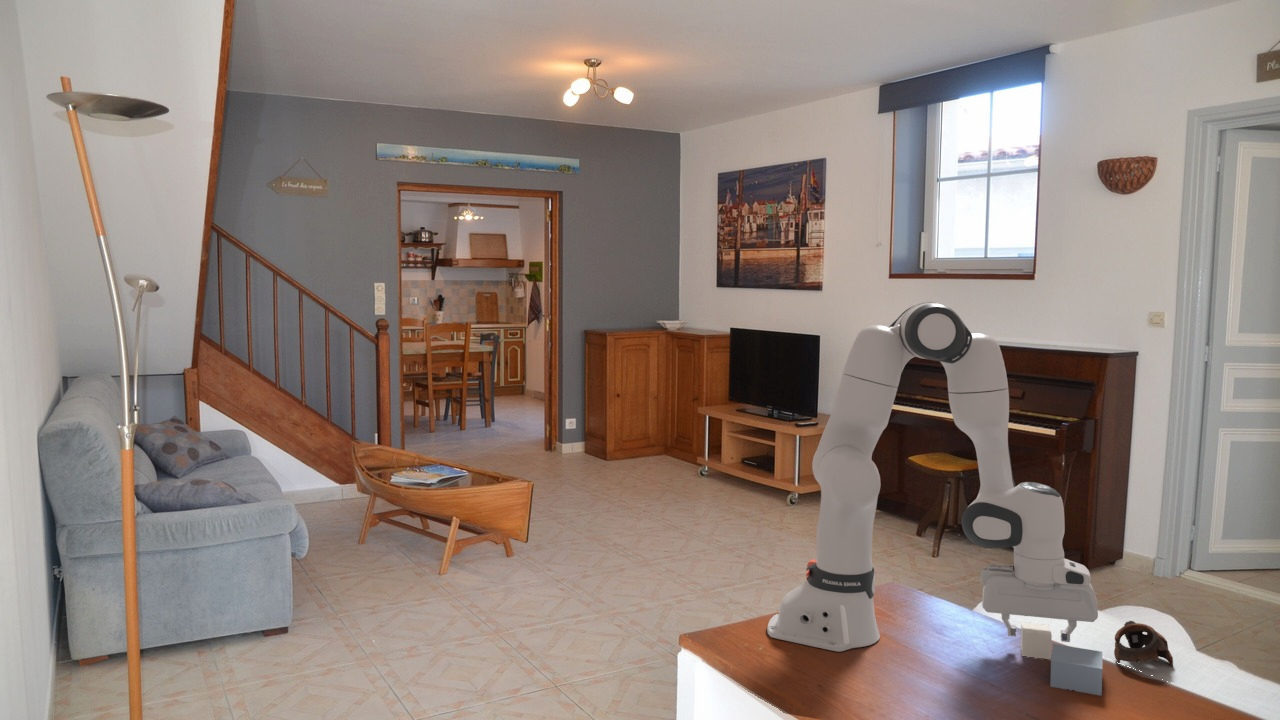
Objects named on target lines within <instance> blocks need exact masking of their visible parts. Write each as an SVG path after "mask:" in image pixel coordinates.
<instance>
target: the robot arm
mask: <svg viewBox="0 0 1280 720" xmlns="http://www.w3.org/2000/svg"><path fill="white" fill-rule="evenodd" d="M913 358H919V359H925V360H930V361H934V362H935V361H936V362H940V364H941V365H942V366H943V368H944V371H945V374H946V378H947V392H948V402H949V408H950V412H951V416H952V419H953V422H954V425H955V426H956V427H957V428H958V429H959V430H960V431H961V432H963V433H964V434H966V436H968V437H969V439H970V440H971V441H972V444H973V445H974V448H975V453H976V459H977V466H978V473H979V474H978V475H979V482H980V484H979V485H980V486H979V490H978V494H977V496H976V498H975V499H974V500H973V501H972V502H971V503H970V504H969V505H968V506H967V507H966V508H965V510H964V512H963V514H962V516H961V527H962V531H963V533H964V535H965V537H966V538H967V539H968V540H969V541H970V542H971V543H973V544H974V545H976V546H978V547H981V548H985V549H1003V548H1004V549H1006V548H1013V565H1005V564H1004V565H1003V564H1002V565H1000V564H999V565H997V564H993V563H992V564H988V565H987V566H984V567H983V568H982V569H981V571H980V583H981V585H983V589H982V599H981V602H982V603H981V604H982V605H981V606H982V609H983V610H984V611H985V612H986V613H991V614H999V615H1000V614H1001V621H1002V622H1003V623H1004V625H1005V626H1006V628H1007V629H1006V630H1007V633H1006V634H1007V637H1017V633H1016V632H1017V627H1016V625H1015V624H1011V622H1010V617H1011V616H1010V615H1012V616H1023V617H1030V618H1031V617H1033V618H1034V617H1035V618H1043V619H1054V620H1064V621H1065V620H1066V621H1067V623H1068V624H1067V627H1066V628H1065V629H1060V641H1061V642H1064V643H1070V642H1071V634H1072V633H1073V632H1074V630H1075V629H1076V628H1077V624H1078V622H1087V623H1095V621H1096V620H1097V619H1098V618H1099V613H1098V611H1099V610H1098V609H1099V608H1098V601H1097V600H1098V599H1097V595H1096V592H1095V589H1094V588H1093V586H1092V584H1091V580H1092V579H1091V578H1092V577H1091V573H1090V571H1089V569H1088V568H1087V567H1086V566H1085V565H1084V564H1081V563H1078V562H1076V561H1073V560H1070V559H1068V558H1065V551H1064V546H1063V539H1064V535H1065V531H1066V529H1065V528H1066V527H1065V508H1064V502H1063V499H1062V496H1061V494H1060V493H1059V492H1058V491H1057V490H1056V489H1054V488H1052V487H1051V486H1050V485H1046V484H1042V483H1041V482H1040V483H1039V482H1033V481H1032V482H1031V481H1025V482H1023V481H1022V482H1020V483H1019V484H1018V485H1016V483H1015V480H1014V475H1013V468H1012V461H1011V453H1010V447H1009V418H1010V394H1009V383H1008V377H1007V370H1006V366H1005V360H1004V358H1003V353H1002V350H1001V347H1000V343H999V342H998V341H997V340H996V339H995V337H992V336H991V335H988V334H986V333H980V332H973V333H972V332H971V331H970V330H969V328H968V327H967V326H966V324H965V323H964V321H963V320H962V319H961V317H960V316H959V315H958V313H957V312H956V311H955V310H954V309H952V308H950V307H949V306H947V305H945V304H941V303H936V302H932V301H930V302H929V301H927V302H920V303H918V304H915V305H912V306H910V307H909V308H907V309H906V310H904V311H903V312H902V313H901V314H900V315H899V316H898V317H897V318H896V319H895V320H894V321H893V322H892V323H891V324H890V325H889V326H887V325H881V324H872V325H869V326H866V327H864V328H862V329H861V330H860V331H859V332H858V333H857V335H856V337H855V340H854V342H853V344H852V346H851V348H850V351H849V353H848V356H847V359H846V362H845V364H844V368H843V371H842V374H841V378H840V382H839V385H838V388H837V392H836V397H835V400H834V403H833V407H832V410H831V413H830V416H829V418H828V421H827V423H826V424H825V428H824V429H823V432H822V435H821V438H820V439H819V442H818V446H817V448H816V451H815V453H814V455H813V457H812V458H813V459H812V464H811V466H812V467H811V468H812V474H813V477H814V479H815V481H816V482H817V484H819V487H820V495H821V496H820V506H819V507H820V508H819V514H818V522H817V523H816V559H814V558H813V559H810V560H809V561H808V562H807V567H806V569H805V570H806V574H805V576H806V581H804V582H803V583H802V584H800V585H797V587H795V588H794V589H792V590H791V591H789V592H788V593H786V595H785V596H784V598H783V599H782V600H781V603H780V606H779V611H778V613H779V614H777V613H775V614H776V615H775V614H774V615H773V616H772V617H770V619H769V621H768V624H767V628H766V629H767V631H766V632H767V634H768V636H769V637H770V638H774V639H777V640H782V641H787V642H789V643H795V644H799V645H805V646H810V647H814V648H818V649H819V648H820V649H823V650H828V651H833V652H844V651H847V650H850V649H856V648H862V647H867V646H871V645H873V644H875V643H877V642H878V641H879V639H880V638H881V635H880V632H879V627H878V625H877V624H878V623H877V621H876V615H875V614H876V613H875V605H874V595H875V589H876V575H875V568H874V567H873V535H874V534H873V531H874V522H875V517H876V511H877V504H878V499H879V498H878V497H879V494H880V492H881V491H880V490H881V486H882V485H881V475H880V473H879V469H878V467H877V465H876V463H875V462H874V461H873V460H872V456H873V452H874V450H875V448H876V445H877V444H878V441H879V440H880V437H881V436H882V434H883V431H884V430H885V429H886V428H887V427H888V424H889V420H890V417H891V413H892V410H893V405H894V404H895V403H894V402H895V399H896V395H897V392H898V387H899V385H900V381H901V375H902V373H903V371H904V368H905V366H906V365H907V364H908V362H909V361H911V359H913Z"/></svg>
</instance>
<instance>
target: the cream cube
mask: <svg viewBox="0 0 1280 720" xmlns="http://www.w3.org/2000/svg"><path fill="white" fill-rule="evenodd" d="M1020 628H1021V629H1020V630H1021V631H1020V632H1021V633H1020V649H1021V650H1022V651H1021V656H1027V657H1026V658H1029V657H1035V658H1034V659H1037V658H1045V659H1051V657H1052V638H1053V637H1052V636H1053V635H1052V631H1051V626H1050V625H1047V624H1039V623H1031V622H1022V621H1021V627H1020Z"/></svg>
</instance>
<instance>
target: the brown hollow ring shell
mask: <svg viewBox="0 0 1280 720" xmlns="http://www.w3.org/2000/svg"><path fill="white" fill-rule="evenodd" d="M1123 636H1124V637H1125V639H1126V640H1127V643H1128V646H1125V645H1124V644H1122V643H1121V639H1122V637H1123ZM1114 641H1115V642H1114V651H1113V652H1114V653H1113V655H1114V657H1115V658H1114V659H1115V660H1116V662H1117V663H1119V664H1120V662H1121V661H1123V662H1128V663H1129V662H1130V663H1134V664H1136V663H1140V662H1141V663H1144V662H1147V661H1150V660H1153V661H1155V662H1156V661H1157V662H1160V659H1159V658H1163V659H1164V660H1166V661H1167V662H1168V663H1169V666H1170V667H1174V658H1173V655H1172V653H1171V652H1170V650H1169V646H1168V641H1167V639H1166V638H1165V637H1164V636H1163V635H1162V634H1161V633H1159V632H1158V631H1156V630H1155V629H1154V628H1153V627H1152V626H1151V625H1147V624H1145V623H1140V622H1138V623H1137V622H1135V621H1133V620H1129V621H1126V622H1125V623H1124V625H1123V626H1122V627H1121V628H1119V629H1118V630H1117V631H1116V632H1115V635H1114Z"/></svg>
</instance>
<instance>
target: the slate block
mask: <svg viewBox="0 0 1280 720" xmlns="http://www.w3.org/2000/svg"><path fill="white" fill-rule="evenodd" d="M1051 687H1052V688H1057V689H1062V690H1067V689H1069V690H1068V691H1072V690H1075V691H1074V692H1079V693H1083V694H1090V695H1095V696H1103V690H1102V689H1103V651H1100V650H1095V649H1087V648H1081V647H1075V646H1069V645H1062V644H1059V643H1058V644H1057V643H1053V644H1052V649H1051V660H1050V688H1051Z"/></svg>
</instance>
